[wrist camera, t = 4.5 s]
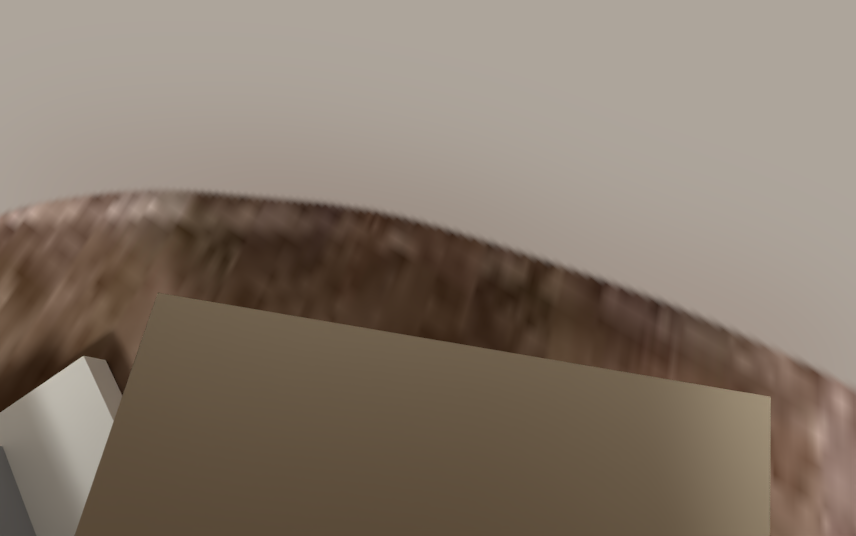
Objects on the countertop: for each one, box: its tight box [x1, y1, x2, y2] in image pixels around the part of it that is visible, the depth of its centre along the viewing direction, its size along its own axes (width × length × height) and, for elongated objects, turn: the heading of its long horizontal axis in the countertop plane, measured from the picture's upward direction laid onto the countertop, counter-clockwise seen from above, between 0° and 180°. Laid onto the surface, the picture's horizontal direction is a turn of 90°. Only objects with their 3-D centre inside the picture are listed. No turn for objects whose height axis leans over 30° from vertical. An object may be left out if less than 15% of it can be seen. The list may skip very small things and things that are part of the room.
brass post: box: [74, 293, 771, 536], centre depth 9 cm, size 4×4×13 cm
